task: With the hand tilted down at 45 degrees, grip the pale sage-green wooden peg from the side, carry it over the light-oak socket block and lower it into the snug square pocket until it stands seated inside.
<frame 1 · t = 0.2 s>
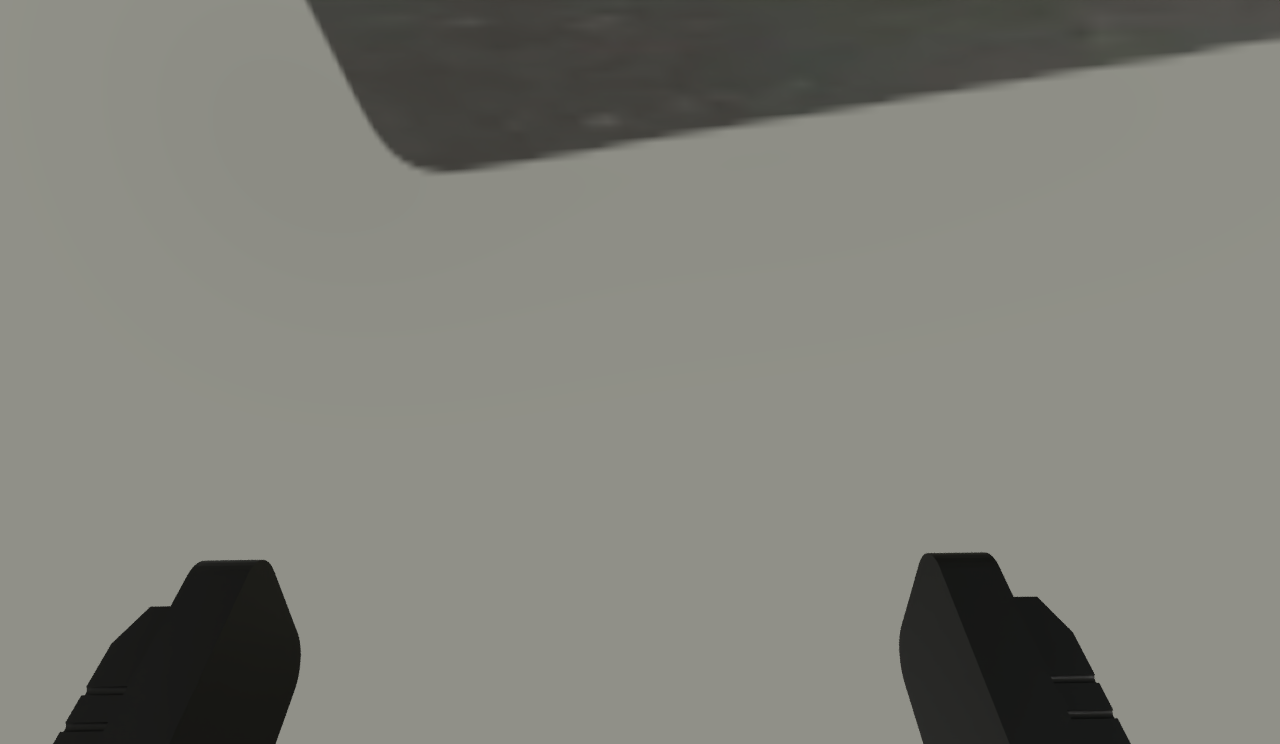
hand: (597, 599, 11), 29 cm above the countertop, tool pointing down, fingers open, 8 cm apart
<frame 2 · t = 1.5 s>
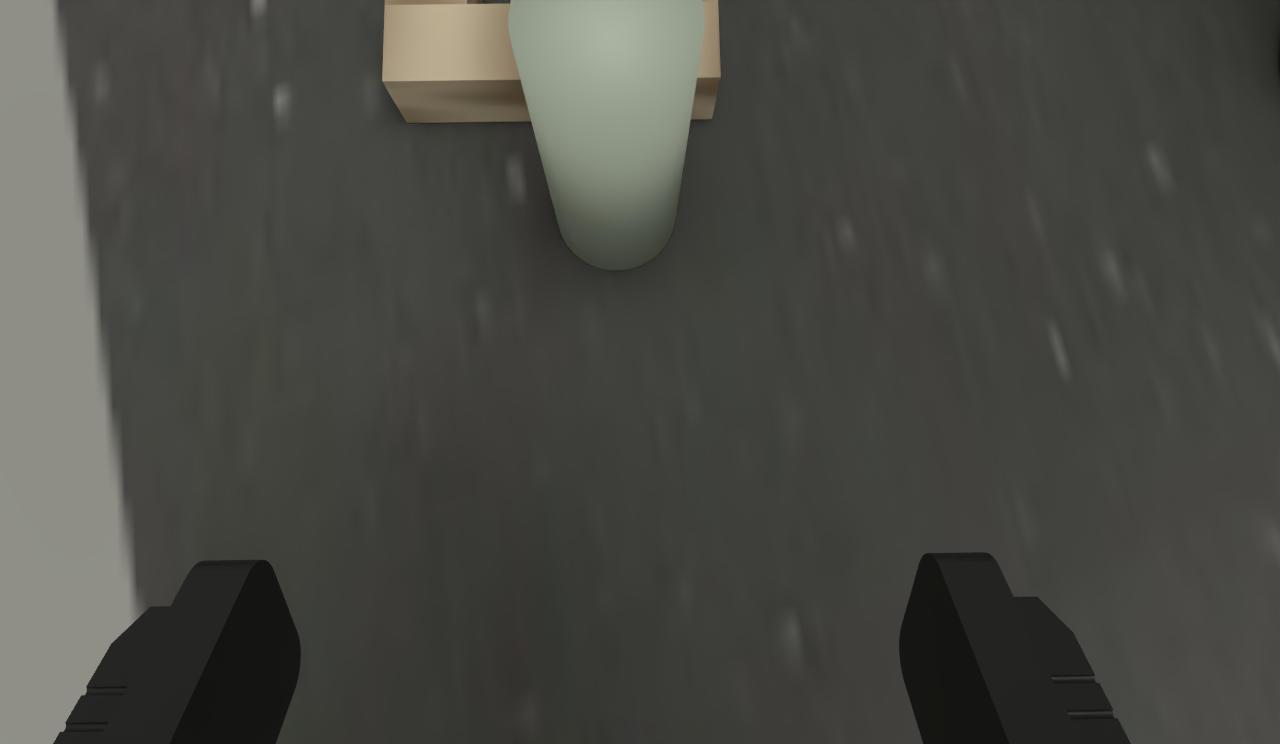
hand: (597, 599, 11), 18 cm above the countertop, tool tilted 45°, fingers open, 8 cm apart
peg: (616, 213, 30), on the countertop
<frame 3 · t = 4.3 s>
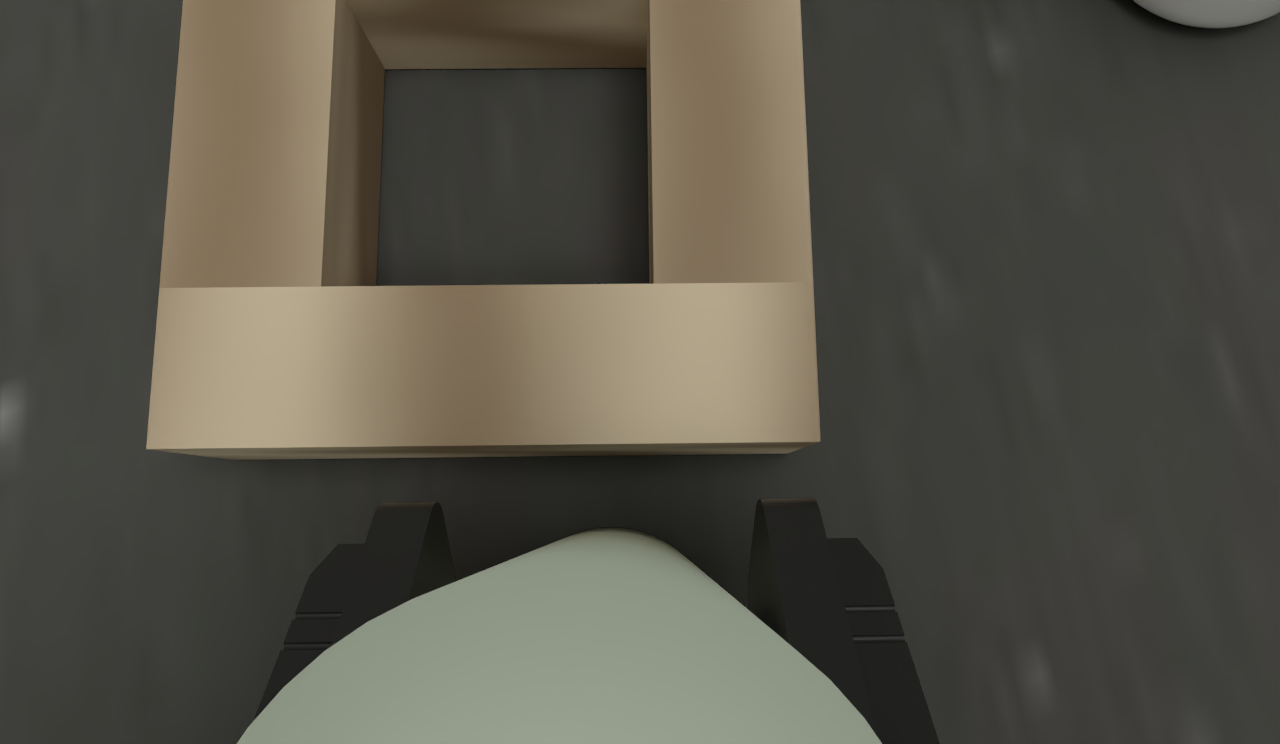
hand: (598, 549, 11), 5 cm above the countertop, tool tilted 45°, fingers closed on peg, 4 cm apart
peg: (610, 638, 16), on the countertop, touching gripper
socket: (514, 192, 18), on the countertop
when the fingers open (6 cm above the countertop, at t = 8.6 s): peg drops 1 cm, resting in socket.
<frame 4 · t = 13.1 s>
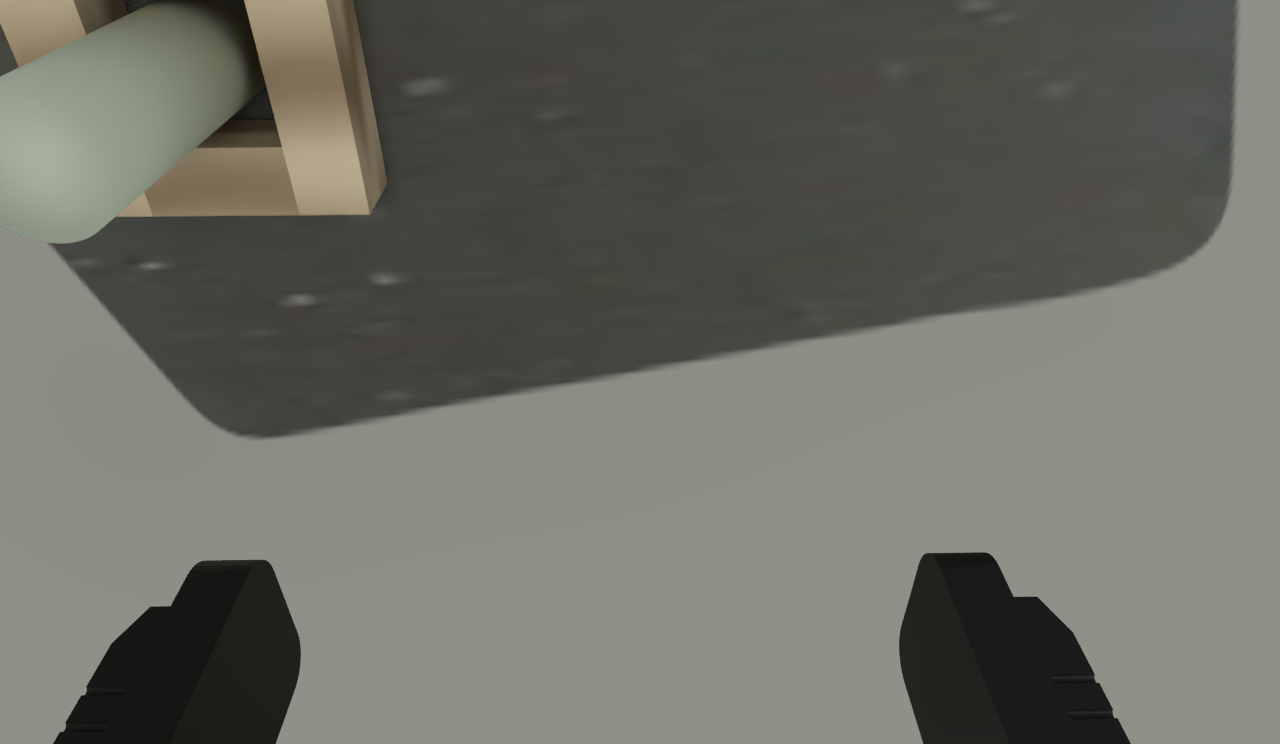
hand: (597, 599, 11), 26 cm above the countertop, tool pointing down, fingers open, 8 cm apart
peg: (216, 45, 32), resting in socket
socket: (214, 46, 32), on the countertop
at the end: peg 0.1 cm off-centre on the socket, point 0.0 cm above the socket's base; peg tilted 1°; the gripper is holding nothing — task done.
